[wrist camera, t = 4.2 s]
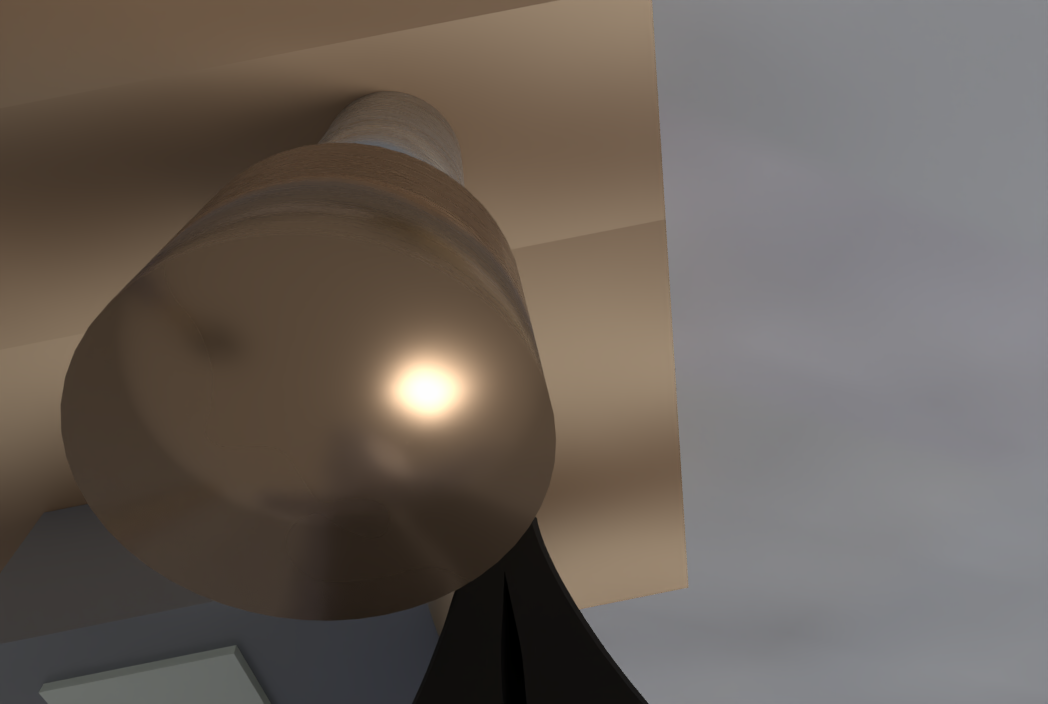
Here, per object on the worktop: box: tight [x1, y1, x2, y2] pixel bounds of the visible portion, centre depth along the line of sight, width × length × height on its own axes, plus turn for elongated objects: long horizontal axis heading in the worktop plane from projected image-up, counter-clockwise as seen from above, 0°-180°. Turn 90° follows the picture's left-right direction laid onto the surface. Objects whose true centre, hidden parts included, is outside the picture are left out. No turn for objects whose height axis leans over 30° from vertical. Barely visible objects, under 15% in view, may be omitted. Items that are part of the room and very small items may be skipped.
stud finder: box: [0, 504, 454, 704], centre depth 12 cm, size 5×7×3 cm
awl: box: [61, 91, 556, 621], centre depth 7 cm, size 3×3×7 cm
